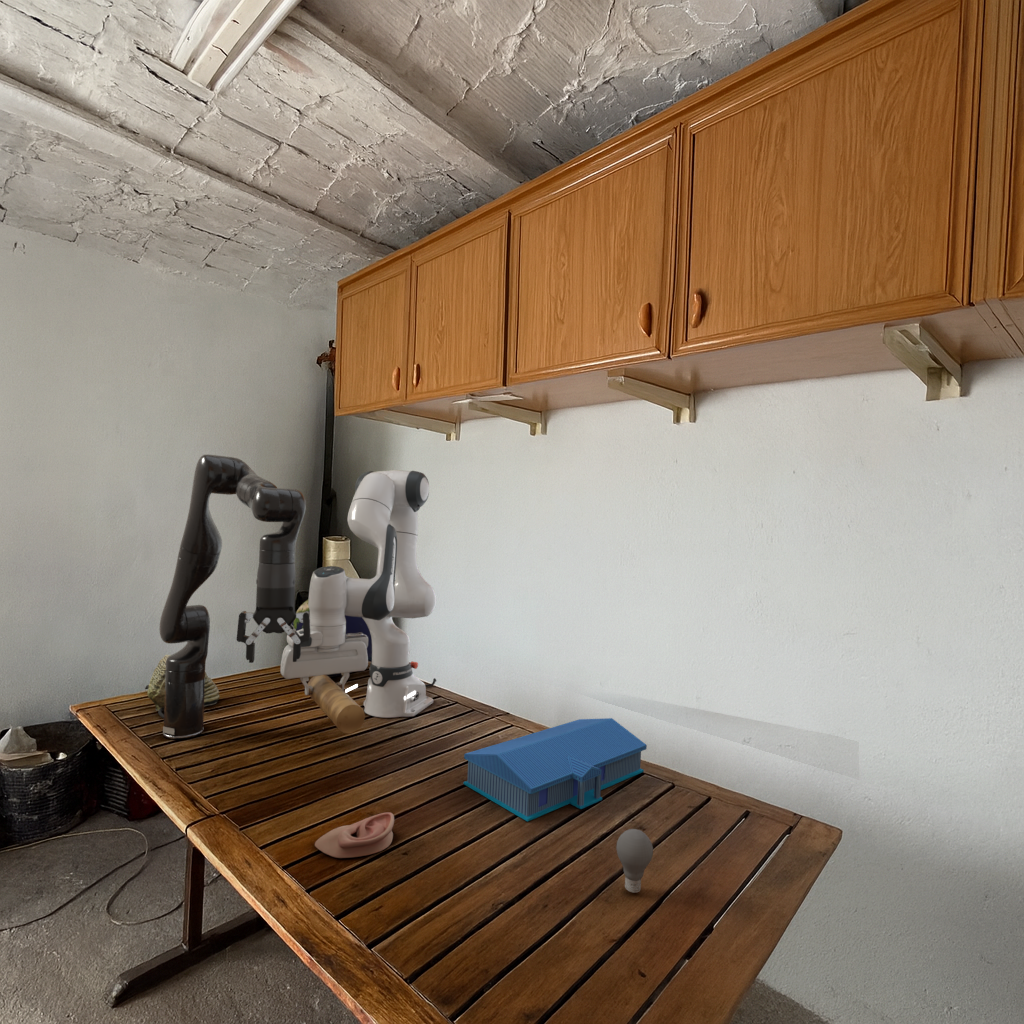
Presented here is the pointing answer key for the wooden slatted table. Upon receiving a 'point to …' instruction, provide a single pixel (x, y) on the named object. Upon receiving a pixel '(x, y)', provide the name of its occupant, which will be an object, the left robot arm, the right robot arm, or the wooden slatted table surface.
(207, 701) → the fossil
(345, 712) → the rod
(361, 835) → the anatomical model
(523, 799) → the model building
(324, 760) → the wooden slatted table surface
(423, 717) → the wooden slatted table surface
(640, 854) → the light bulb
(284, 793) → the wooden slatted table surface
